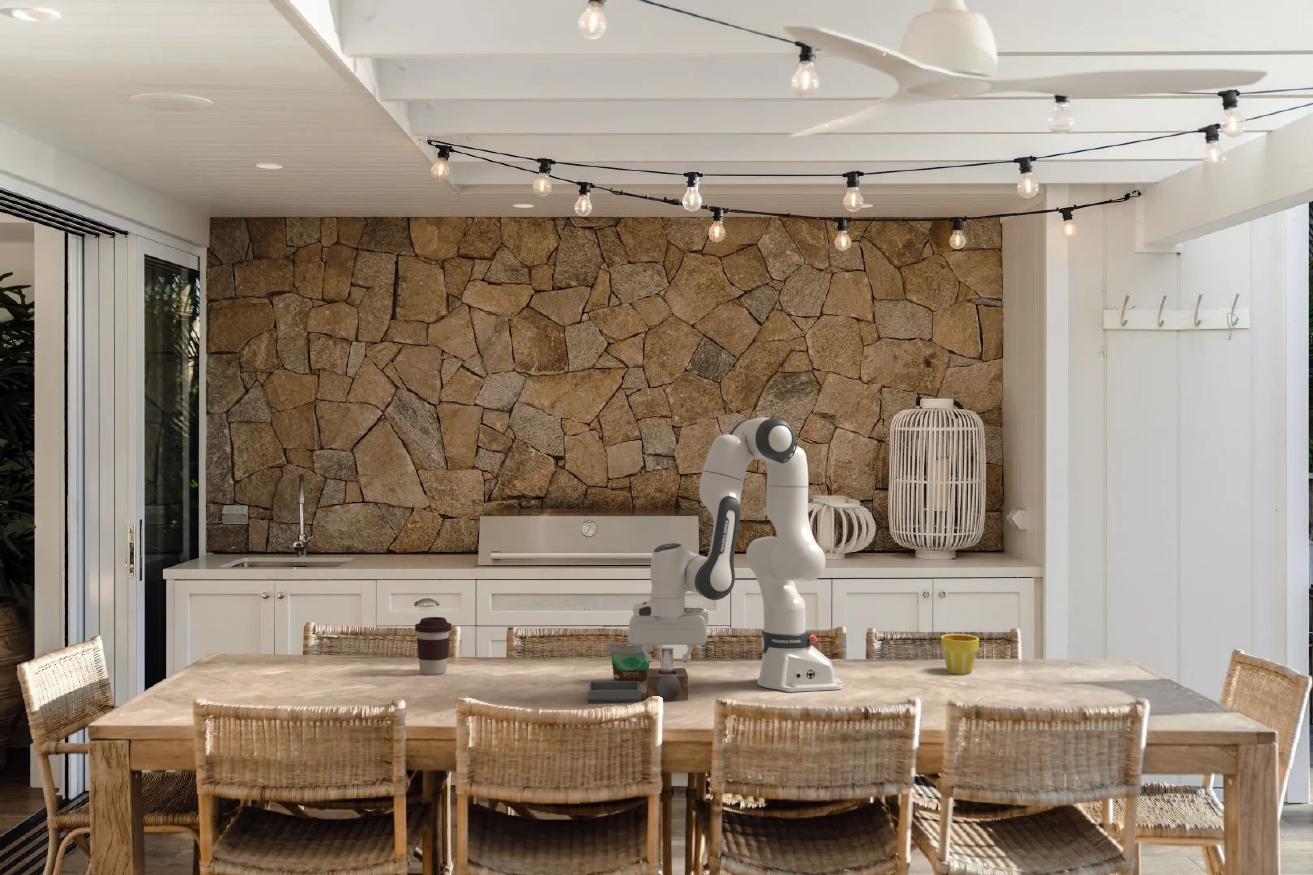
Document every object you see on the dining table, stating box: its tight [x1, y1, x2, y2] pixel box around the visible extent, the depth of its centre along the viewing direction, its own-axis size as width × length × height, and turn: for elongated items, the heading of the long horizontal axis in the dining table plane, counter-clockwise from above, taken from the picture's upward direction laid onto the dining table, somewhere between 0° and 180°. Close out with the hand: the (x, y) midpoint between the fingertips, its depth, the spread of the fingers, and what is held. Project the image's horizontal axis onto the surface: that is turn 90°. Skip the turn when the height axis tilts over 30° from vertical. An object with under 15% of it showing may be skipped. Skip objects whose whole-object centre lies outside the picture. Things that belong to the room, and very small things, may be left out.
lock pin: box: [660, 647, 674, 674], centre depth 306 cm, size 3×3×10 cm
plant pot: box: [940, 633, 980, 675], centre depth 338 cm, size 10×10×10 cm
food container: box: [608, 642, 654, 683], centre depth 324 cm, size 12×6×10 cm, turn 105°
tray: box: [587, 680, 642, 704], centre depth 304 cm, size 13×11×3 cm
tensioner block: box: [646, 667, 689, 701], centre depth 305 cm, size 10×12×6 cm
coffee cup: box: [414, 616, 453, 676], centre depth 333 cm, size 10×10×15 cm
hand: (667, 661), depth 306 cm, fingers open, 8 cm apart
